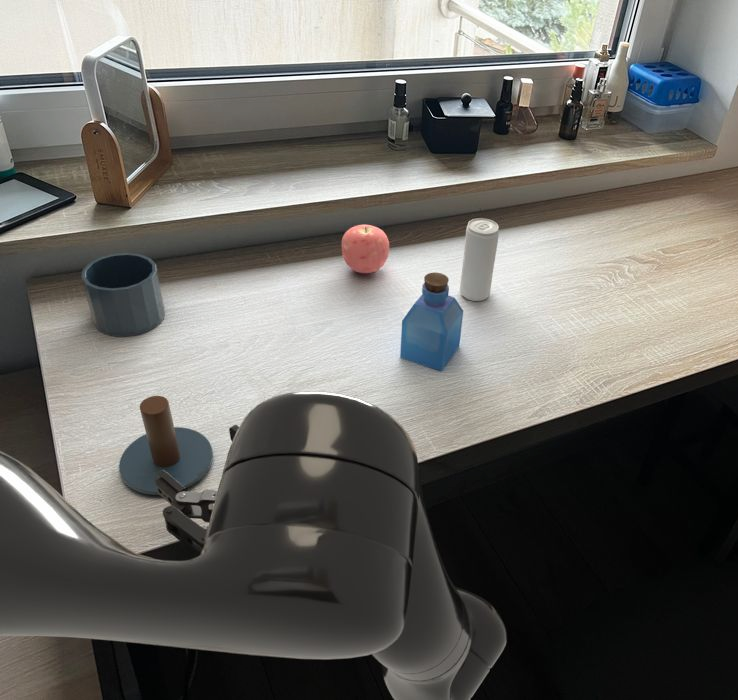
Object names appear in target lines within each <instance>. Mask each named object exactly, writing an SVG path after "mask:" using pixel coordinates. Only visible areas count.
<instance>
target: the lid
mask: <svg viewBox="0 0 738 700" xmlns="http://www.w3.org/2000/svg"><path fill="white" fill-rule="evenodd" d="M139 411H140V414H141V419H142V422H143V423H142V424H143V427H144V432H145V434H143V435H141V436H139V437H138V438H136V439H135V440H134V441H132V442H131V443H130V444H129V445H128V446H127V447H126V448H125V450H123V453H122V455H121V457H120V459H119V463H118V469H119V474H120V478H121V479H122V481H123V482H124V484H125V485H126V486H128V487H129V488H130V489H132V490H134V491H135V492H138V493H142V494H146V495H154V496H155V495H156V496H158V495H159V493H158V490H157V486H156V482H155V480H157V476H156V474H157V473H158V472H160V471H161V470H165V471H166V472H167V473H168V474H170V475H171V476H172V477H173V478H174V479H175V480H177V481H178V482H179V483H180V484H181V485H183V486H184V487H185V489H187V488H190V487H191V486H193V485H194V484H196V483H197V482H199V481H200V480H201V479H202V478H203V477H204V476H205V475H206V474H207V472H208V471H209V469H210V468H211V466H212V463H213V458H214V452H213V451H214V450H213V447H212V444H211V442H210V441H209V439H208V438H207V437H206V436H205V435H204V434H202V433H201V432H199V431H197V430H194V429H191V428H188V427H179V426H175V425H174V419H173V416H172V411H171V405H170V401H169V400H168V398H166V397H165V396H163V395H151V396H148V397H146V398H145V399H143V400H142V401H141V402H140V404H139ZM159 496H160V495H159Z"/></svg>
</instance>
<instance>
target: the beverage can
mask: <svg viewBox="0 0 738 700" xmlns="http://www.w3.org/2000/svg"><path fill="white" fill-rule="evenodd" d="M499 229H500V227H499V224H498V223H497V222H496V221H494V220H492V219H489V218H485V217H484V218H483V217H479V218H473V219H470V220H469V221H468V222H467V226H466V230H465V237H464V238H465V239H464V247H463V256H462V257H463V259H462V265H461V266H462V267H461V275H460V285H459V292H460V294H461V295H462V297H464V298H465V299H467V300H468V301H472V302H481V301H484V300H486V299H488V297H490V294H491V289H492V282H493V274H494V267H495V262H496V255H497V249H498V243H499V235H500V230H499Z"/></svg>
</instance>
